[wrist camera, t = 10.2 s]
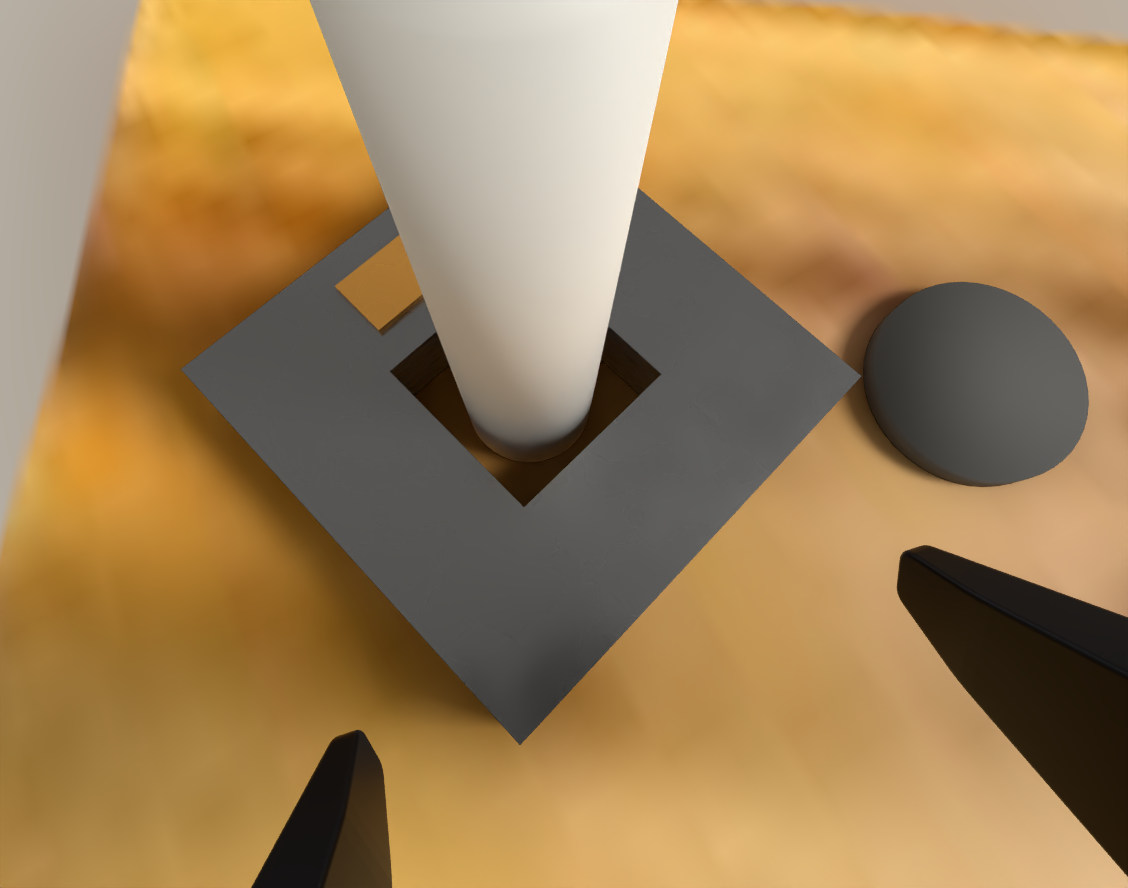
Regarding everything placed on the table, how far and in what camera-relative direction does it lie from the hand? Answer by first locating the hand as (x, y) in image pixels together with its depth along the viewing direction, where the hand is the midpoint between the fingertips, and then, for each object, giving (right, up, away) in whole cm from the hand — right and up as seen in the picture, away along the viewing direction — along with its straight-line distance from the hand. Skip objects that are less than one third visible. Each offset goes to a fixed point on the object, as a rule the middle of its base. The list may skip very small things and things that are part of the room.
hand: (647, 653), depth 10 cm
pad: (+12, +5, +11) cm, 17 cm away
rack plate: (-2, +5, +10) cm, 12 cm away
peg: (-2, +5, +11) cm, 12 cm away
